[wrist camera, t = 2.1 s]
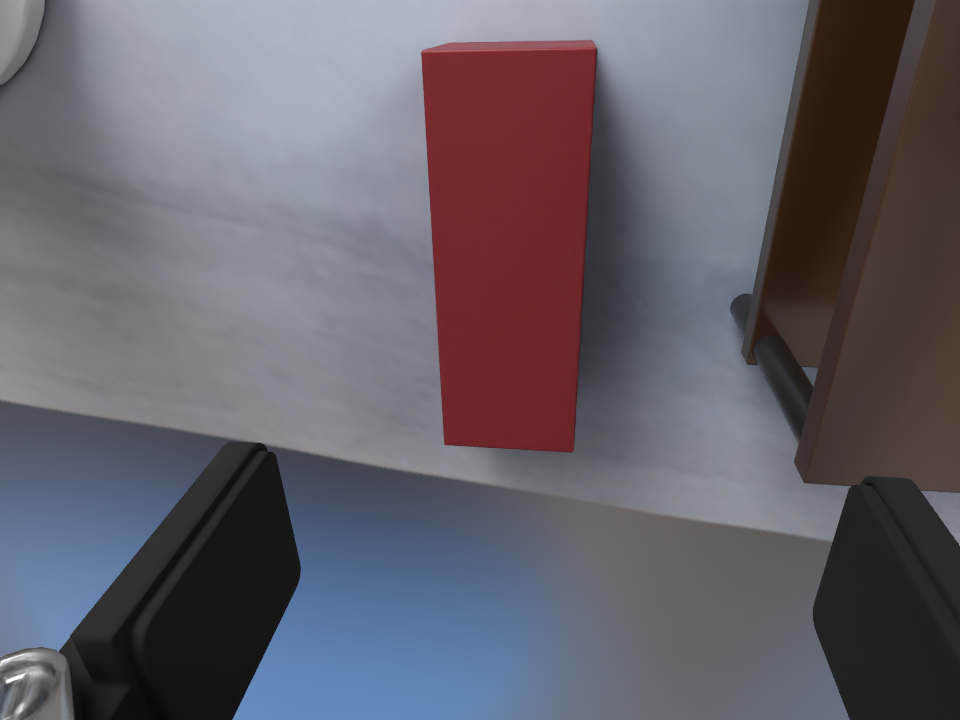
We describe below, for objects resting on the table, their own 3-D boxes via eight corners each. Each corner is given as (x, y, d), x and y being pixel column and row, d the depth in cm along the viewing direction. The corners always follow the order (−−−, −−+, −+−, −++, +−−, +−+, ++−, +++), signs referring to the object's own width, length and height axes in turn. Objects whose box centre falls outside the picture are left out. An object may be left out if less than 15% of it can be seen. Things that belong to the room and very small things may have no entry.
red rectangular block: (461, 387, 31) (443, 445, 27) (447, 42, 24) (420, 50, 20) (573, 392, 31) (573, 453, 26) (593, 40, 23) (597, 47, 19)
